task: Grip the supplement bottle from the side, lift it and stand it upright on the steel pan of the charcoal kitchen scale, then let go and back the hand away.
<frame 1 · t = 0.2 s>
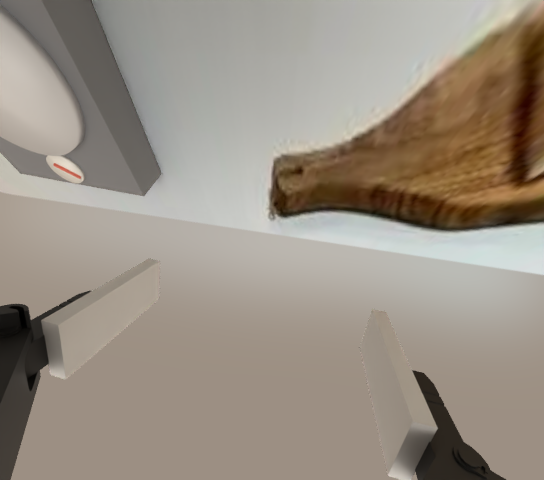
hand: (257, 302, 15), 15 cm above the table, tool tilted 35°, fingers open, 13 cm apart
kitchen scale: (52, 83, 24), on the table
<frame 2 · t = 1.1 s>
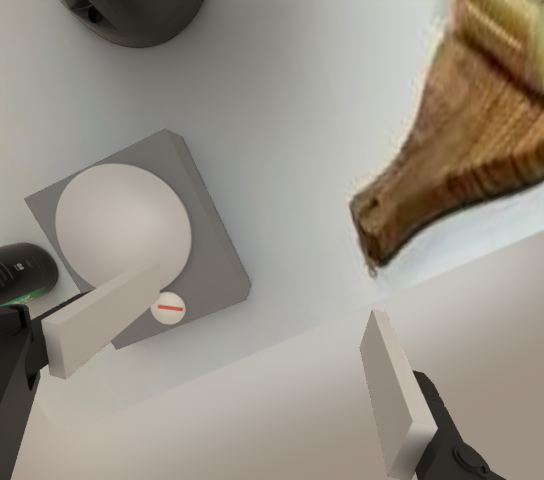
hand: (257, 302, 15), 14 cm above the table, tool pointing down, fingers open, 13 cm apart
kitchen scale: (157, 241, 29), on the table
supplement bottle: (33, 268, 31), on the table
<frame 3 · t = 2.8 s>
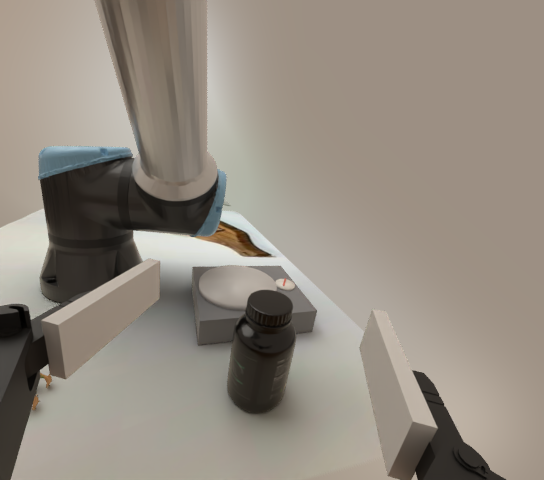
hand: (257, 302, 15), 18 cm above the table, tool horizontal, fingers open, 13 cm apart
kitchen scale: (246, 306, 45), on the table
supplement bottle: (255, 388, 30), on the table
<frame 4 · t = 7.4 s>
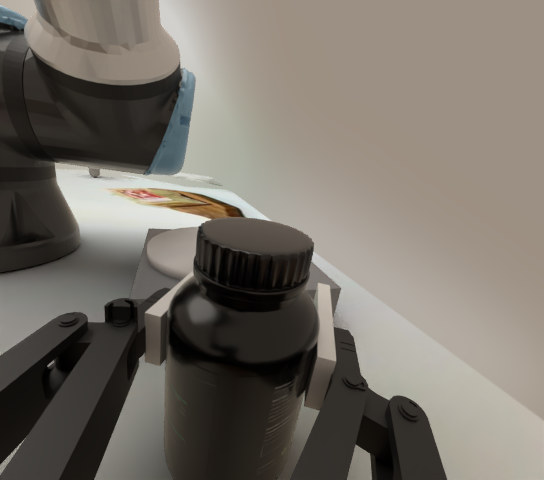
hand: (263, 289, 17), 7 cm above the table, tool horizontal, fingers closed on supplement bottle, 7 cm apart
kitchen scale: (228, 286, 29), on the table
lightbulb: (94, 177, 79), on the table
supplement bottle: (228, 435, 14), on the table, touching gripper
when the fingers open (13 cm above the table, at t = 11.9 s): supplement bottle drops 1 cm, resting on kitchen scale.
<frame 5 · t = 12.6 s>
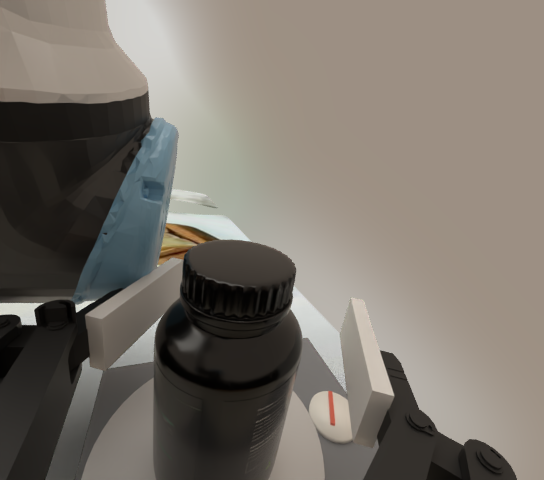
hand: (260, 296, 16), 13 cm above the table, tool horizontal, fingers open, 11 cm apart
supplement bottle: (217, 447, 15), point 5 cm above the table, touching kitchen scale
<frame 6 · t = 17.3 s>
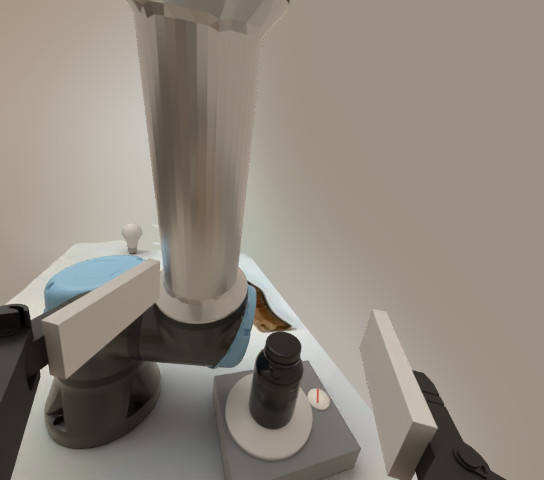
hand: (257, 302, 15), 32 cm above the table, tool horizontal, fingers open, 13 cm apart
kitchen scale: (276, 427, 40), on the table
lightbulb: (132, 253, 90), on the table
supplement bottle: (270, 408, 38), point 5 cm above the table, touching kitchen scale
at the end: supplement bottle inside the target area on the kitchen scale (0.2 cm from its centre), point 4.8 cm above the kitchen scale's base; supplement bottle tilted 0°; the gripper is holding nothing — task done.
